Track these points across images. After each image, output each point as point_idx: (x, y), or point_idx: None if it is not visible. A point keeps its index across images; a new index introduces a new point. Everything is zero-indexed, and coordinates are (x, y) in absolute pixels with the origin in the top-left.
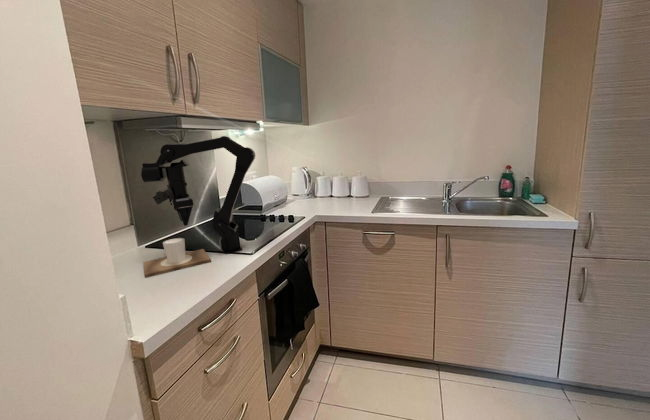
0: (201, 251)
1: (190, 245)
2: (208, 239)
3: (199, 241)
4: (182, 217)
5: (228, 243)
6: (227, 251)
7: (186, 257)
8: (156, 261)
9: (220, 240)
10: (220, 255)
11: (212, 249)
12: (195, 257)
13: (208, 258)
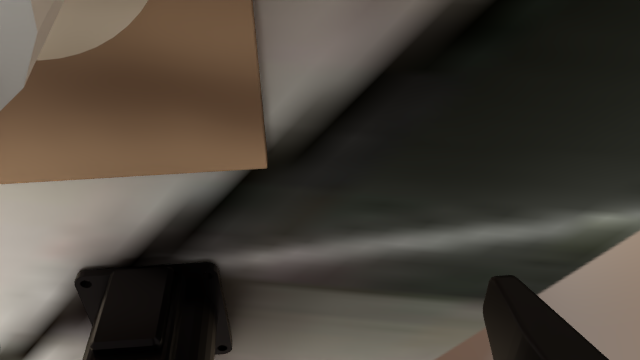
0: (187, 149)
1: (578, 71)
2: (606, 216)
3: (627, 152)
4: None
5: (83, 356)
6: (91, 293)
7: None
8: None
9: (100, 345)
10: (61, 241)
11: (272, 213)
12: None
13: None
